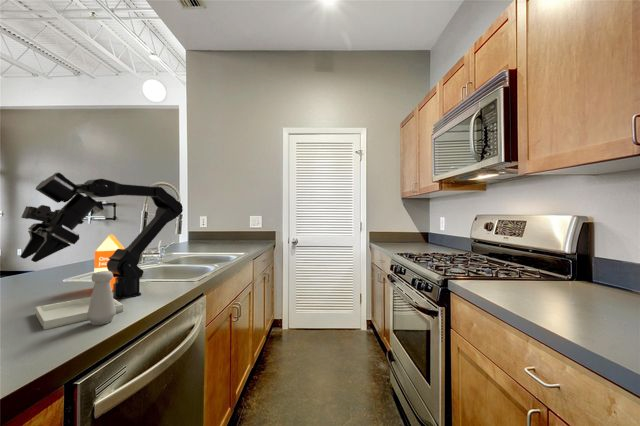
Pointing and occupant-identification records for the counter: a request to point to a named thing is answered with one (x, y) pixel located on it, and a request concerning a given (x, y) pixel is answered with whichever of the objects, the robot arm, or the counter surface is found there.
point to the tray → (66, 312)
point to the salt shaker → (101, 299)
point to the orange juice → (106, 255)
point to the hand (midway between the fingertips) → (27, 259)
